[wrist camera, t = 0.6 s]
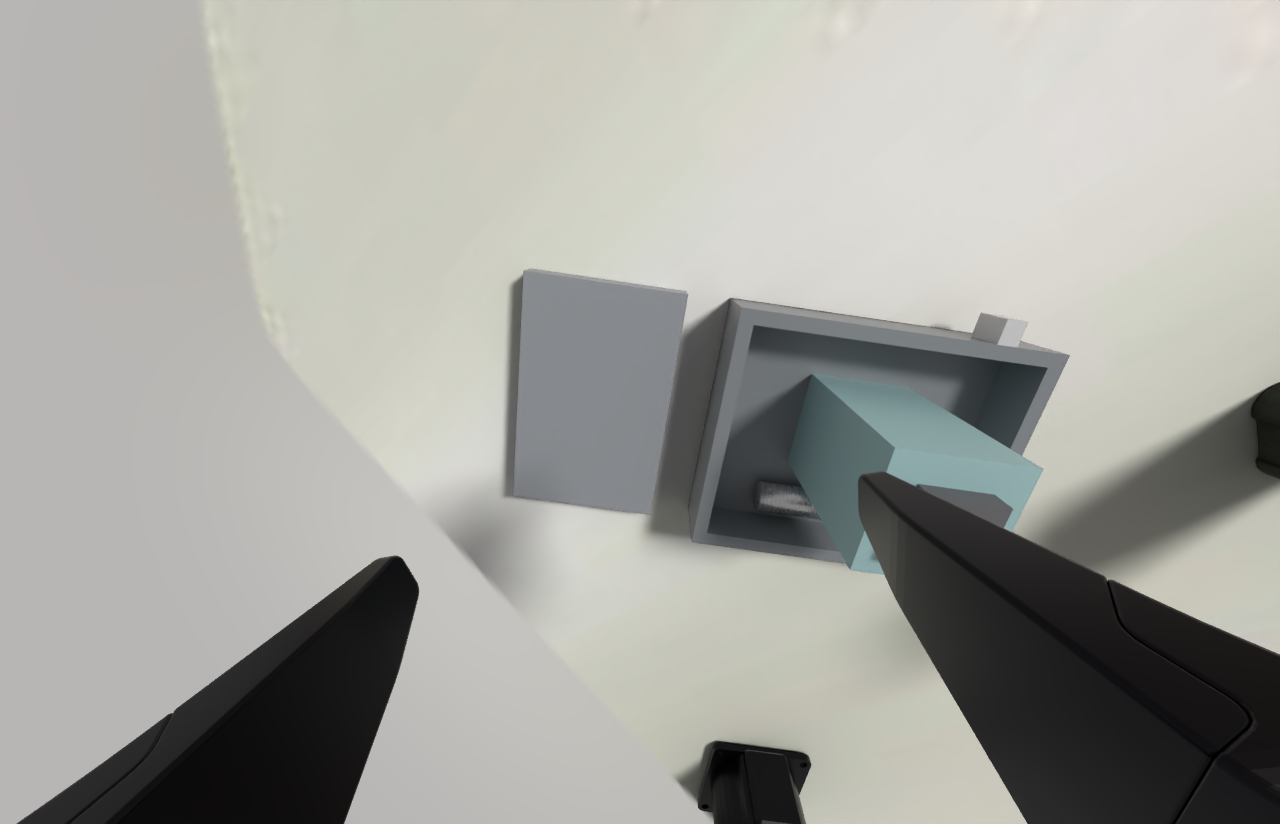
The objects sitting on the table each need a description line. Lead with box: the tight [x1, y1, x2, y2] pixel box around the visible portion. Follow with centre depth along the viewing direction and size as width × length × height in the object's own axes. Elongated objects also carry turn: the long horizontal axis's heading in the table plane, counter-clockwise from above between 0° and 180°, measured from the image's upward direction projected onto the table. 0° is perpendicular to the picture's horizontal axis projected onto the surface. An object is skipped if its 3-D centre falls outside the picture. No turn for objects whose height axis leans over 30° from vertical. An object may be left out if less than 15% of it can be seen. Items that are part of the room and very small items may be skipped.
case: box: [688, 298, 1070, 563], centre depth 21 cm, size 12×13×3 cm
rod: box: [753, 481, 821, 519], centre depth 23 cm, size 1×7×1 cm, turn 82°
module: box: [788, 374, 1043, 575], centre depth 18 cm, size 4×4×9 cm
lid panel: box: [513, 269, 688, 515], centre depth 22 cm, size 11×7×1 cm, turn 172°
